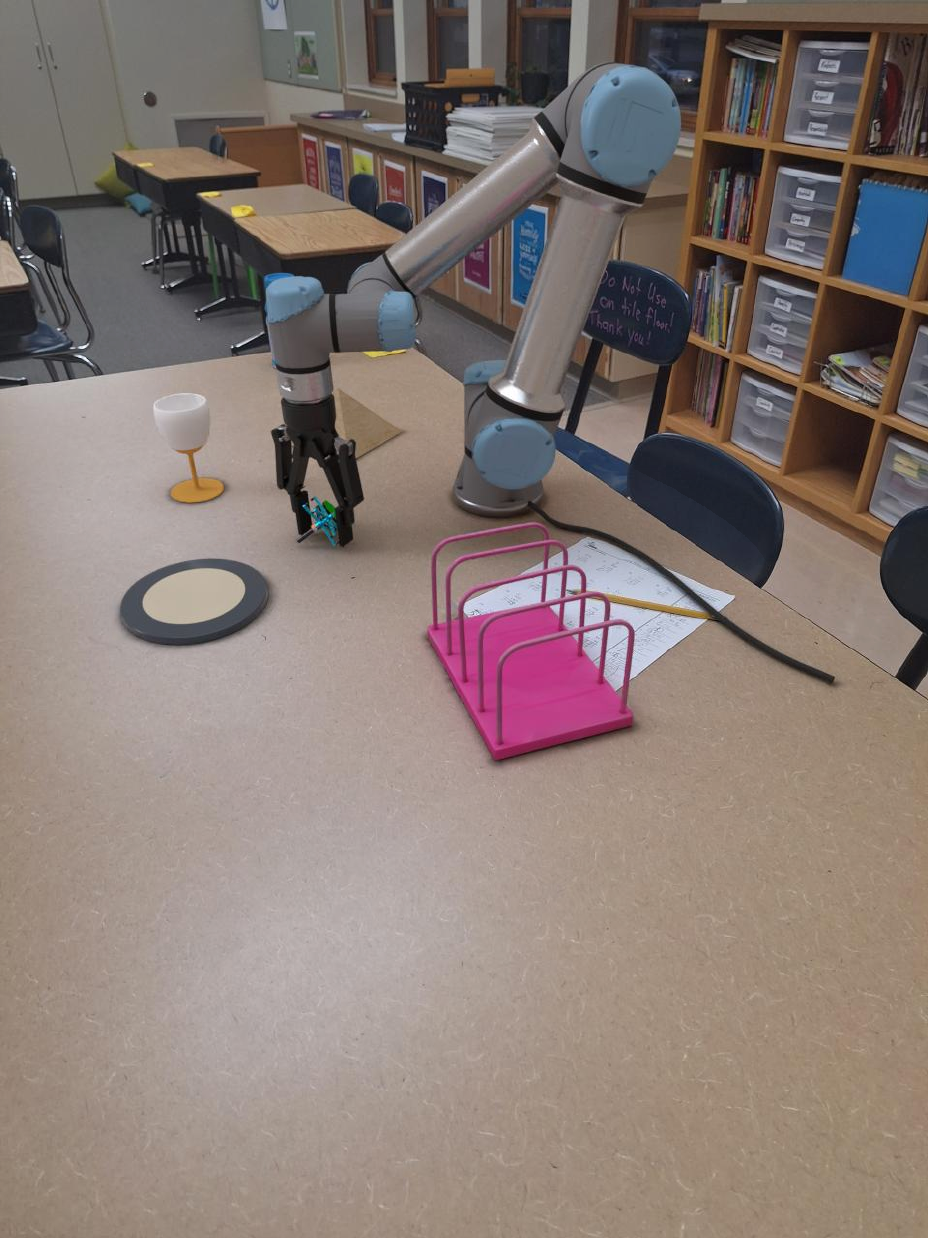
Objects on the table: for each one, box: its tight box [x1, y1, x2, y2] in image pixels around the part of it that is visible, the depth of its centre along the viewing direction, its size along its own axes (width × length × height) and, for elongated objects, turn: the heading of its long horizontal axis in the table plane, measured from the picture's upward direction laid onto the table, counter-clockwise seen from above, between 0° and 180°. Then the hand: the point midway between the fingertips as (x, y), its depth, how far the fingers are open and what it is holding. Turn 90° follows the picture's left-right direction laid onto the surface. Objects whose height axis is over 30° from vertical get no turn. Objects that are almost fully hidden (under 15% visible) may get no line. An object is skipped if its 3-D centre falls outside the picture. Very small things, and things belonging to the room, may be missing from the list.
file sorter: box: [426, 522, 636, 761], centre depth 103 cm, size 17×25×16 cm
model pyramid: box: [291, 387, 403, 459], centre depth 165 cm, size 17×17×10 cm
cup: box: [152, 392, 225, 504], centre depth 145 cm, size 9×9×16 cm
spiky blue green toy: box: [295, 495, 339, 547], centre depth 134 cm, size 12×7×8 cm
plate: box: [119, 557, 269, 646], centre depth 121 cm, size 20×20×1 cm
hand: (325, 536), depth 134 cm, fingers closed on spiky blue green toy, 7 cm apart
